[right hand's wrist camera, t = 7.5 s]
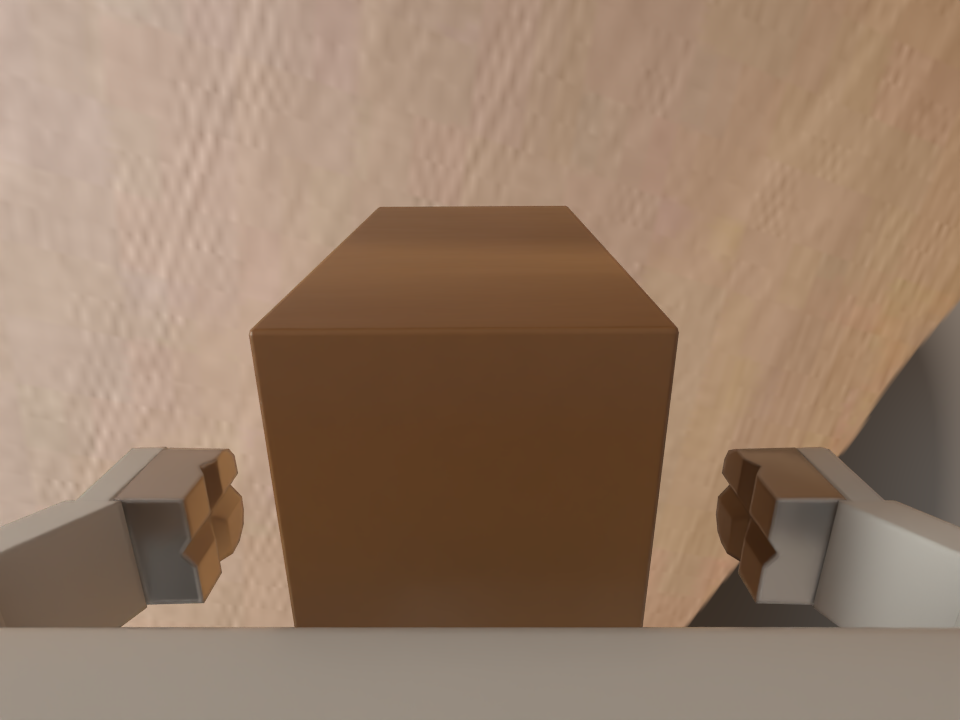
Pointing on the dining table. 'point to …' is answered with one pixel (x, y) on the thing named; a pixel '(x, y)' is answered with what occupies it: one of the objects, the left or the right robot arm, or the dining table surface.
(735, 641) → the right robot arm
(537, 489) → the bar
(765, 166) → the dining table surface
